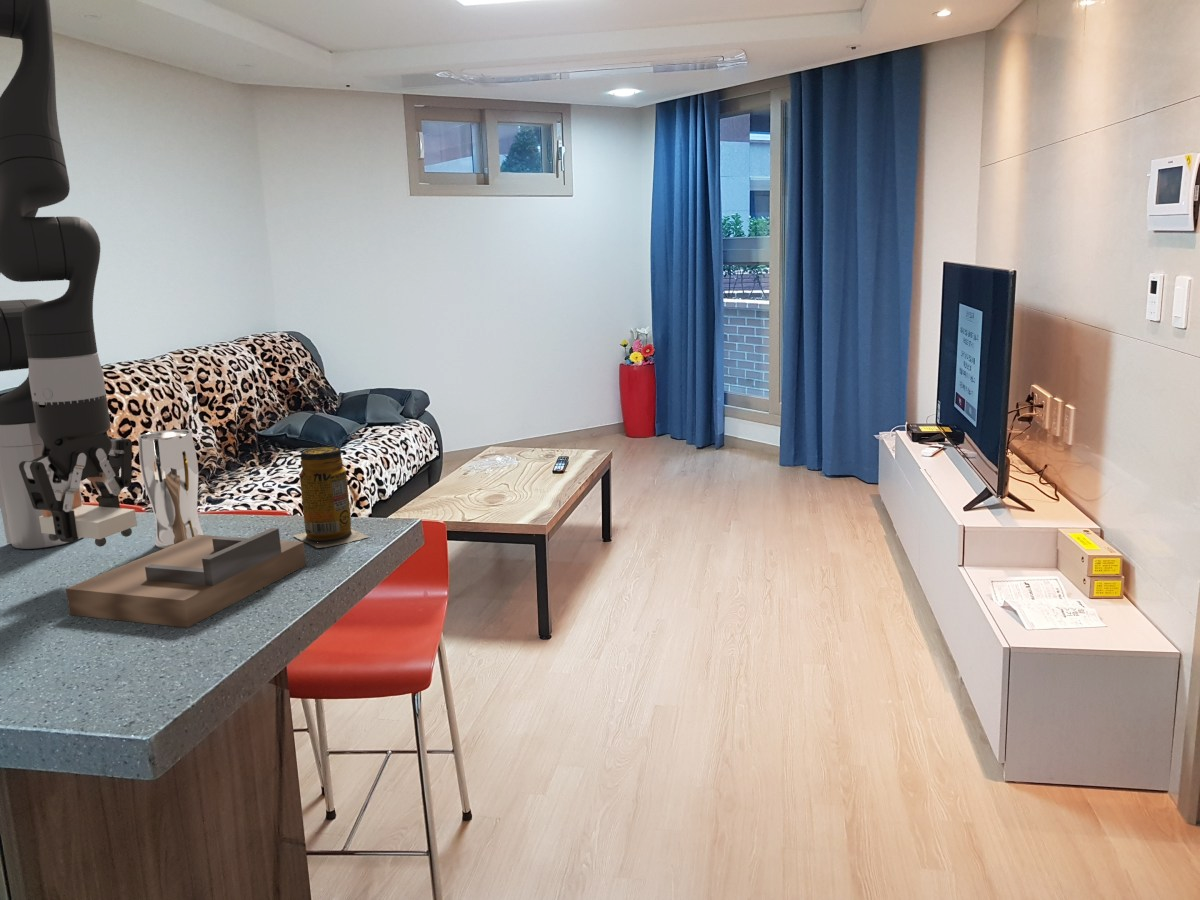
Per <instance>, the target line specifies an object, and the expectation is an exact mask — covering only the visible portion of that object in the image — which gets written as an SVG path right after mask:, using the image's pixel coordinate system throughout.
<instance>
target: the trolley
mask: <svg viewBox="0 0 1200 900" xmlns="http://www.w3.org/2000/svg"><path fill="white" fill-rule="evenodd" d="M80 491H81V490H80ZM80 491H79V490H78V491H77V492H76V493H75V495H74V500H73V505H72V509H71V510H72V511H74V514H75V523H76V530H77V536H78V537H82V538H85V539H92V540H94V544H95V545H96V546H97V547H99V548H100V547H104V546H106V544H107V537H110V536H113V535H116V534H119V533H120V534H121V536H123V537H126V538H128V537H129V536H131V535H132V533H133V530H132V528H135V527H137V526H138V522H137V514H136V510H135V509H132V508H131V509H130V508H121V507H120V508H111V507H101V506H99V505H91V504H83V505H82V504H81V498H80ZM62 494H63V492H62ZM61 499H62V495H61ZM60 501H61V500H60ZM42 512H43V516H40V517H39V520H40V526H41V532H42V533H47V534H49V536H48V537H49V539H50V540H51V541H57V540H59V538H57V536H56V534H55V528H54V522H53V516H52V513H51V512H50V511H48V510H42ZM82 538H81V539H82Z"/></svg>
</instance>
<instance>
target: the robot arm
mask: <svg viewBox="0 0 1200 900" xmlns="http://www.w3.org/2000/svg"><path fill="white" fill-rule="evenodd" d="M52 25H53V24H52V14H51V4H50V0H0V37H2V38H9V39H13V40H14V39H15V40H21V43H22V45H21V46H22V52H21V57H20V62H19V65H18V67H17V69H16V71H15V73H14V75H13V76H12V78H11V80H10V81H9V83H8V84H7V86H6V88H5V89H4V90H3V92H2V93H1V95H0V274H2V276H4V277H5V278H6V279H8V280H10V281H13V282H18V283H24V282H25V283H26V282H27V283H29V282H30V283H31V282H32V283H33V282H49V281H50V282H51V281H52V282H53V281H69V282H68V283H69V284H68V287H67V290H66V291H65V293H63V295H61V296H59V297H58V298H54V299H51V300H47V301H45V300H43V299H38V298H36V299H35V298H30V299H28V298H27V299H10V300H0V372H6V371H7V372H8V371H17V370H26V369H27V370H28V375H27V377H26V378H25V380H24V381H23V382H22V383H21V384H19V385H18V386H17V387H15V388H14V389H13V390H11V391H9V392H6V393H5V394H2V395H1V396H0V512H1V513H0V514H1V517H2V523H3V529H4V533H5V539H6V543H7V544H11V545H12V547H13V548H16V549H21V550H22V549H23V550H24V549H25V550H28V549H42V548H50V547H56V546H60V545H64V544H68V543H73V542H77V541H78V540H80V539H82V537H78V536H77V530H76V523H75V514H74V511H72V510H71V509H72V505H73V500H74V495H75V493H76V492H77V491H78V490H79V491H80V498H81V504H82V505H84V503H83V497H82V492H81V482H83V481H85V480H88V481H89V482H91V484H92V485H93V487H94V488H95V489H96V491H97V493H98V494H99V495H100V496H97V502H98V506H101V507H111V508H121V505H120V498H119V497H120V496H119V495H120V494H121V492H122V490H123V489H124V488H129V487H130V486H131V485H132V475H133V474H132V473H133V472H132V471H133V470H132V468H133V441H132V440H131V438H119V437H112V438H111V437H110V436H109V434H108V431H110V429H111V419H110V412H109V406H108V399H107V392H106V391H107V390H106V384H105V377H104V371H103V368H102V366H101V365H102V364H101V362H100V359H99V353H98V347H97V340H96V332H95V323H94V293H95V286H96V279H97V274H98V269H99V264H100V261H101V260H100V259H101V242H100V237H99V235H98V232H97V231H96V229H95V228H94V227H93V225H91V223H90V222H89V221H87V220H86V219H84V218H82V217H78V216H37V214H38V212H39V211H38V210H39V209H41V208H46V207H50V206H53V205H56V204H59V203H61V202H63V201H64V200H66V198H67V197H68V196H69V194H70V180H69V179H70V178H69V175H68V169H67V168H68V167H67V164H66V159H65V154H64V153H65V152H64V149H63V144H62V139H61V135H60V127H59V120H58V111H57V110H58V109H57V94H56V93H57V92H56V91H57V90H56V71H55V68H56V67H55V56H54V55H55V52H54V40H53V26H52ZM62 492H63V494H62ZM61 495H62V499H61ZM60 500H61V501H60ZM42 510H48V511H50V512H51V513H52V516H53V522H54V528H55V534H56V536H57V538H59V540H57V541H51V540H50V539H49V537H48V536H49V534H47V533H42V532H41V526H40V520H39V517H40V516H43V512H42Z"/></svg>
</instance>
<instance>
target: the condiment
mask: <svg viewBox="0 0 1200 900" xmlns="http://www.w3.org/2000/svg"><path fill="white" fill-rule="evenodd" d="M300 460H301V462H300V463H301V464H300V465H301V468H302V469H301V471H300V473H299V483H300V492H301V500H302V501H301V502H302V511H303V512H302V513H303V519H304V520H303V521H304V530H305V531H304V532H301V533H297V534H294V535H292V536H293V537H295V538H296V539H297V540H299V541H300V542H304V543H307V544H308V545H310V546H312V547H315V548H317V549H319V548H320V549H321V548H328V547H333V546H339V545H342V544H343V545H344V544H350V543H351V542H354V541H359V540H360V541H361V540H363V539H367V538H370V536H369V535H367V534H365V533H362V532H360V531H357V530H354V529H352V528H351V526H352V519H351V518H352V517H351V507H350V506H351V503H350V496H349V489H348V488H349V486H348V479H347V478H348V477H347V476H348V475H347V470H346V468H345V467H344V466H343V458H342V451H341V449H340V448H339V447H335V446H321V447H313V448H308V449H305V450H303V451H301V453H300ZM317 542H318V543H317Z"/></svg>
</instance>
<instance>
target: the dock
mask: <svg viewBox="0 0 1200 900" xmlns="http://www.w3.org/2000/svg"><path fill="white" fill-rule="evenodd" d="M280 539H281V538H280V529H279V528H275V527H271V528H268V529H266V530H264V531H262V532H260V533H257V534H255V535H253V536H250V537H238V536H237V537H236V536H221V535H206V534H203V535H196V536H194V537H191V538H189V539H187V540H184V541H182V542H179V543H177V544H174V545H172V546H169V547H167V548H161V549H160V550H157V551H155V552H153V553H151V554H150V553H149V554H147V555H145V556H143V557H141V558H138V559H135V560H133V561H130V562H128V563H126V564H123V565H121V566H118V567H115V568H113V569H110V570H109V571H106V572H104V573H101V574H99V575H98V574H97V575H96V576H94V577H91V578H88V579H86V580H84V581H81V582H79V583H76V584H73V585H72V586H69V587H66V588H65V591H66V592H65V593H66V598H67V603H68V604H67V605H68V611H69V615H70V616H78V617H88V618H96V619H97V618H98V619H106V620H116V621H123V622H124V621H125V622H131V623H133V622H134V623H142V624H151V625H159V626H171V627H179V628H187V629H188V628H190V627H192V626H194V625H196V624H198V623H200V622H201V621H203V620H205V619H207V618H209V617H212V616H213V615H215V614H216V613H219V612H220V611H221V612H222V610H225V609H226V608H228V607H230V606H232V605H234V604H235V603H238V602H240V601H241V600H243V599H245V598H247V597H249V596H251V595H254V594H255V593H257V592H259V591H260V590H262V589H264V588H265V587H268V586H270V585H271V583H272V584H274V583H275V581H276V582H277V581H280V580H281V579H283V578H285V577H287V576H288V574H289V575H290V573H291V574H293V573H295V572H297V571H298V570H300V569H302V568H304V567H306V566H307V560H306V554H305V552H306V551H305V544H304V543H305V542H303V541H297V540H296V541H295V540H293V541H292V540H280ZM305 565H306V566H305ZM303 566H304V567H303ZM299 568H300V569H299ZM294 571H295V572H294ZM292 572H293V573H292ZM286 575H287V576H286ZM284 576H285V577H284ZM273 582H274V583H273ZM263 587H264V588H263ZM258 590H259V591H258ZM256 591H257V592H256Z"/></svg>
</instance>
